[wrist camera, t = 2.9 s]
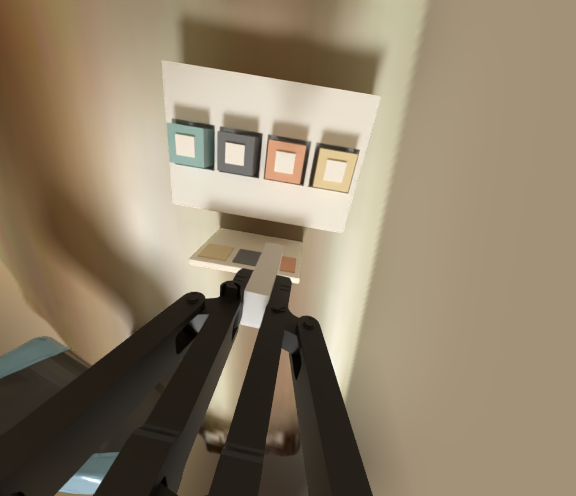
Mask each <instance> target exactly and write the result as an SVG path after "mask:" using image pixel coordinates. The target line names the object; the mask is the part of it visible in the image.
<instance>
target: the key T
mask: <svg viewBox="0 0 576 496" xmlns="http://www.w3.org/2000/svg"><path fill="white" fill-rule="evenodd" d="M357 157H358V155H357V154H354V153H350V152H345V151H339V150H333V149H327V148H321V147H319V150H318V155H317V161H316V166H315V171H314V176H313V187H319V188H324V189H330V190H336V191H342V192H348V190H349V186H350V183H351V179H352V175H353V171H354V168H355V164H356V160H357Z"/></svg>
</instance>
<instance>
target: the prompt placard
mask: <svg viewBox="0 0 576 496" xmlns="http://www.w3.org/2000/svg"><path fill="white" fill-rule="evenodd" d="M266 242H269V243H273V244H278V245H283V246H284V249H283V254H282V260H281V265H280V270H279V274H278V275H280V276H285V277H289V278H290V279H291V281H292V283H297V284H299V280H300V268H301V254H302V242H299V241H294V240H288V239H282V238H276V237H271V236H265V235H259V234H253V233H248V232H242V231H236V230H230V229H225V228H220V229H219V230H218V231H217V232H216V233H215V234H214V235H213V236H212V237H211V238H210V239H209V240H208V241H207V242H206V243H205V244H204V245H203V246H202V247H201V248H200V249H199V250H198V251H197V252H195V253H194V254H193V255H192V256H191V257H190V258H189V265H194V266H200V267H206V268H212V269H217V270H223V271H229V272H234V273H237V272H238V271H239V270H240V269H242V268H246V269H250V270H254V269H255V266H256V264H257V262H258V260H259V258H260V256H261V253H262V251H263V249H264V247H265V245H266Z"/></svg>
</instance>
